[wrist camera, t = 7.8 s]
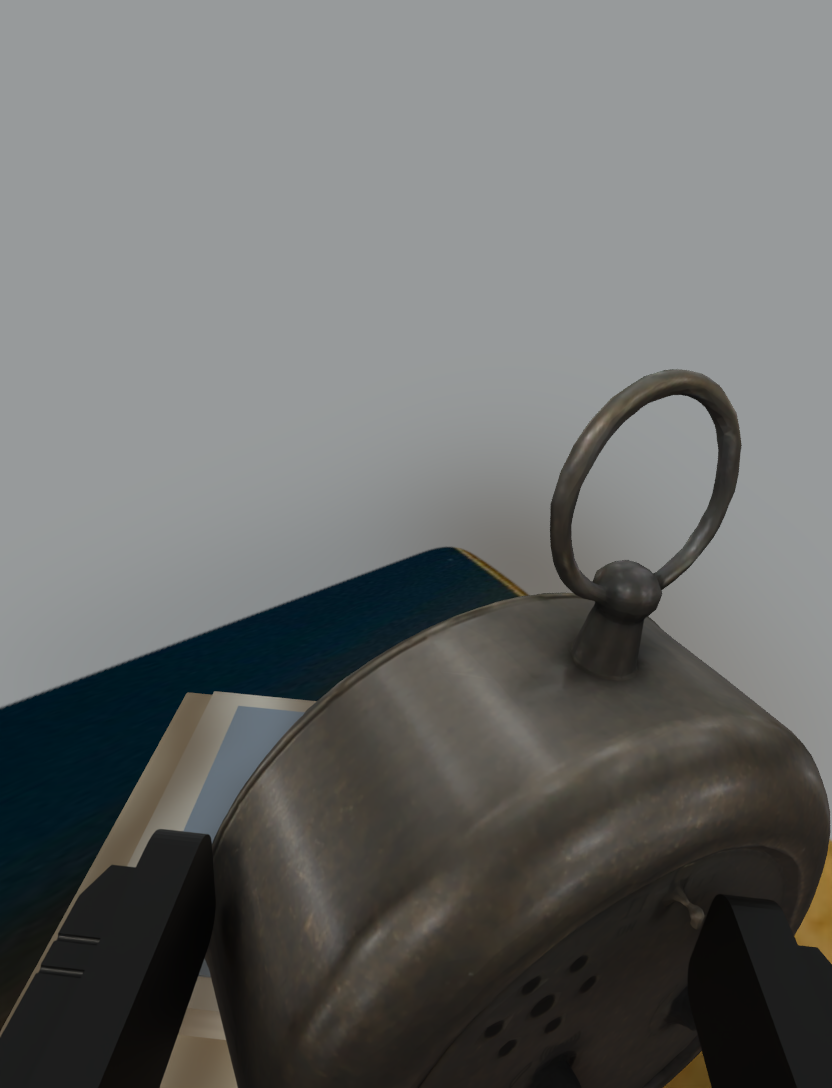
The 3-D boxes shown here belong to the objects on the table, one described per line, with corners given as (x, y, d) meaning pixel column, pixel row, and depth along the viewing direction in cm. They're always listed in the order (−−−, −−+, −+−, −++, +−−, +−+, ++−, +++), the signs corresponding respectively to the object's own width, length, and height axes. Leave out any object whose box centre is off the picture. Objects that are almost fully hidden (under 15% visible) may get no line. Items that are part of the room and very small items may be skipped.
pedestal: (-7, 1103, 23) (-31, 1036, 21) (189, 722, 39) (185, 667, 37) (435, 1153, 22) (446, 1089, 21) (448, 747, 38) (455, 694, 37)
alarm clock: (595, 936, 20) (781, 345, 14) (753, 1142, 16) (1138, 425, 9) (193, 1111, 15) (180, 312, 9) (266, 1482, 11) (352, 453, 4)
